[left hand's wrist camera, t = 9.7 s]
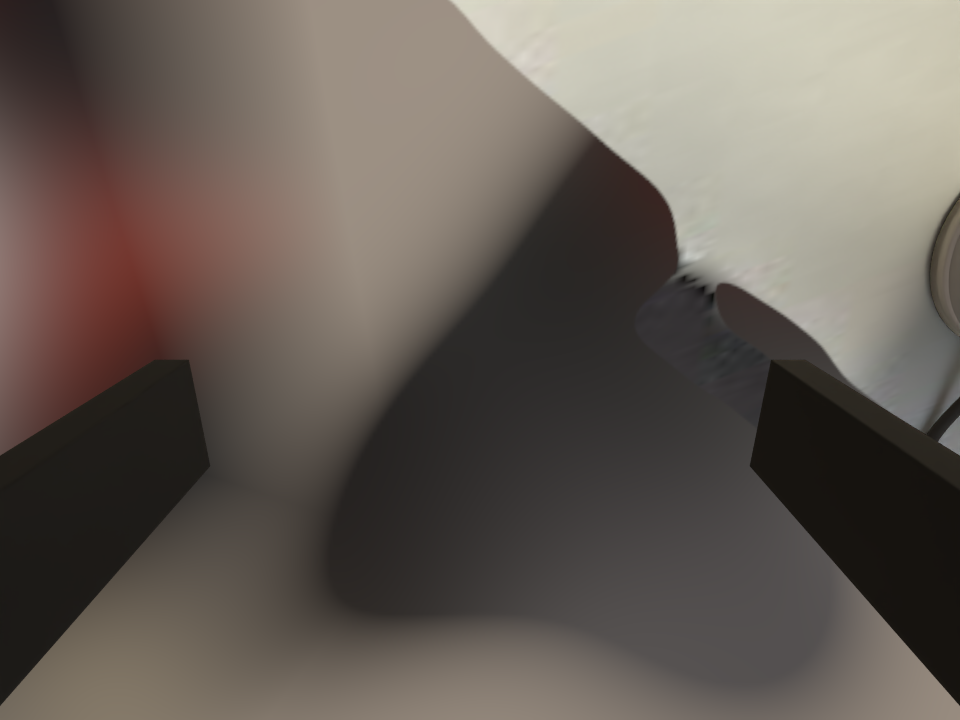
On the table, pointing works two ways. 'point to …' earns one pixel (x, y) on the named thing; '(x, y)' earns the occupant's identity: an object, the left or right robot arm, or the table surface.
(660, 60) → the table surface
